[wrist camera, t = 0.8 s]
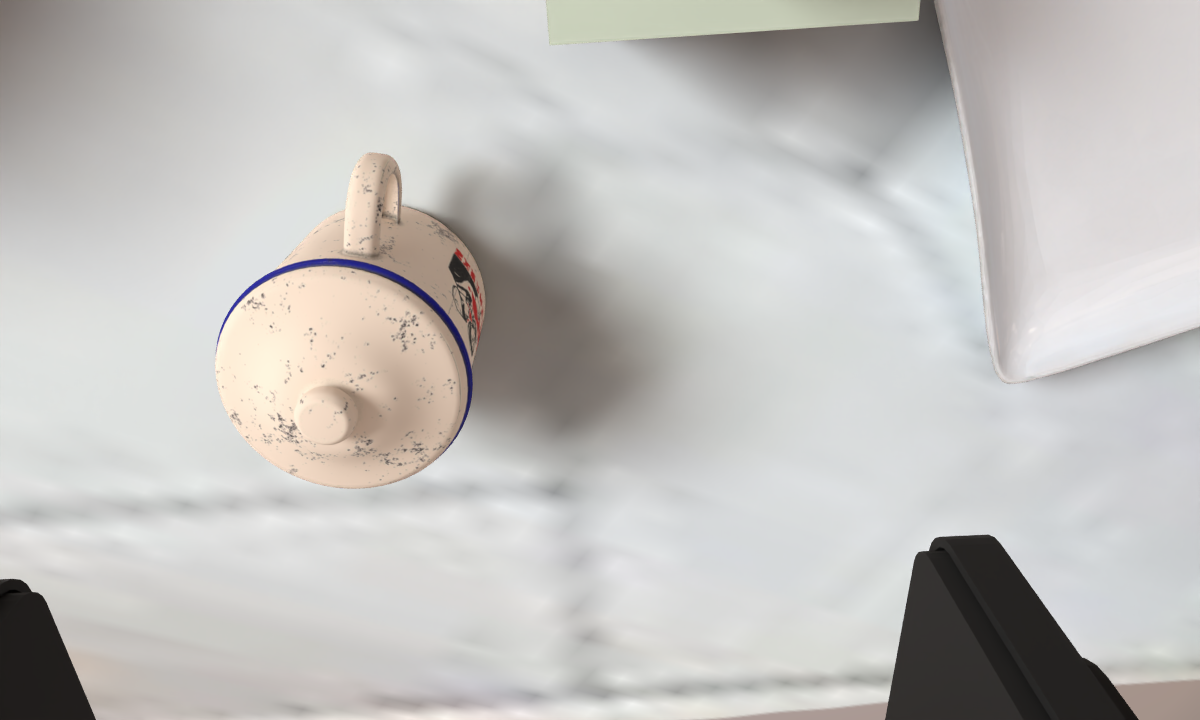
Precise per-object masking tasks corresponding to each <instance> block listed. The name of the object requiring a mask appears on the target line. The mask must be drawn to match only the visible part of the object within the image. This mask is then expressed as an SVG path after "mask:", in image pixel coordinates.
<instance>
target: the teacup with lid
mask: <svg viewBox="0 0 1200 720" xmlns="http://www.w3.org/2000/svg"><path fill="white" fill-rule="evenodd" d="M401 200H402V183H401V174H400V170H399V167H398V164H397V162H396V161H395V160H394V159H393V158H392V157H391V156H389V155H385V154H380V153H367V154H365V155H363V156H362V157H361V158H360V159H359V160H358V162H357V164H356V165H355V168H354V170H353V173H352V176H351V180H350V184H349V189H348V194H347V201H346V209H345V210H343V211H340V212H338V213H336V214H334V215H332V216H330V217H328V218H327V219H325V220H324V221H323V222H321V223H320V224H319V225H318V226H316V227H315V228H314V229H313V230H312V231H311V232H310V233H309V234H308V235H307V237H306V238H305V239H304V240H303V241H302V242H301V243H300V244H299V245H298V246H297V247H296V248H295V249H294V250H293V251H292V252H291V254H290V255H289V256H288V257H287V258H286V259H285V260H284V261H283V262H282V263H281V264H280V265H279V266H278V267H277V268H276V269H275V271H273V272H271V273H269V274H267V275H265V276H264V277H262V278H261V279H259V280H258V281H256V282H255V283H254V284H252V285H251V286H250V287H249V288H248V289H247V290H245V292H244V293H243V294H242V295H241V296H240V297H239V298H238V299H237V300H236V302H235V303H234V305H233V306H232V307H231V309H230V311H229V312H228V314H227V316H226V318H225V320H224V322H223V325H222V327H221V330H220V333H219V337H218V341H217V348H216V364H215V369H216V380H217V385H218V390H219V393H220V396H221V400H222V402H223V405H224V407H225V409H226V412H227V414H228V415H229V417H230V419H231V421H232V423H233V424H234V426H235V427H236V429H237V430H238V432H239V433H240V434H241V435H242V437H243V438H244V439H245V440H246V441H247V442H248V443H249V444H250V445H251V447H252V448H253V449H254V450H256V451H257V452H258V453H259V454H260V455H261V456H263V457H264V458H265V459H267V460H268V461H269V462H271V463H272V464H274V465H275V466H277V467H278V468H280V469H282V470H284V471H286V472H288V473H289V474H291V475H294V476H296V477H298V478H301V479H303V480H306V481H309V482H312V483H316V484H320V485H324V486H330V487H336V488H347V489H360V488H371V487H377V486H383V485H387V484H391V483H394V482H397V481H400V480H403V479H405V478H408V477H410V476H412V475H414V474H416V473H418V472H419V471H421V470H423V469H424V468H426V467H427V466H428V465H430V464H431V463H432V462H434V461H435V460H436V459H437V458H438V457H439V456H441V455H442V454H443V453H444V452H445V451H446V450H447V449H448V447H449V446H450V445H451V444H452V443H453V441H454V440H455V439H456V437H457V436H458V434H459V432H460V430H461V429H462V427H463V425H464V422H465V420H466V418H467V415H468V411H469V408H470V403H471V398H472V386H473V382H472V367H473V363H474V359H475V354H476V350H477V346H478V342H479V338H480V334H481V329H482V325H483V321H484V315H485V290H484V284H483V280H482V276H481V274H480V271H479V268H478V266H477V264H476V262H475V260H474V258H473V256H472V255H471V253H470V251H469V250H468V249H467V247H466V246H465V245H464V243H463V242H462V241H461V240H460V239H459V238H458V237H457V236H456V235H455V234H454V233H453V232H452V231H451V230H450V229H448V228H447V227H446V226H445V225H443V224H442V223H440V222H439V221H437V220H436V219H434V218H432V217H430V216H428V215H426V214H424V213H422V212H419V211H417V210H414V209H411V208H408V207H404V206H401Z"/></svg>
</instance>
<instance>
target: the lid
mask: <svg viewBox="0 0 1200 720" xmlns="http://www.w3.org/2000/svg"><path fill="white" fill-rule="evenodd" d="M546 7H547V20H548V32H549V44H550V45H563V44H577V43H592V42H607V41H622V40H637V39H652V38H667V37H682V36H697V35H712V34H727V33H742V32H756V31H771V30H786V29H801V28H816V27H831V26H846V25H861V24H876V23H891V22H906V21H918V20H919V9H920V0H546Z"/></svg>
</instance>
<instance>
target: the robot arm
mask: <svg viewBox="0 0 1200 720" xmlns="http://www.w3.org/2000/svg"><path fill="white" fill-rule="evenodd" d="M0 720H96V719H95V716H94V714H93V712H92V709H91V707H90V705H89V702H88V700H87V697H86V695H85V693H84V690H83V688H82V686H81V683H80V681H79V679H78V676H77V674H76V671H75V669H74V667H73V664H72V662H71V660H70V657H69V655H68V652H67V650H66V648H65V645H64V643H63V641H62V638H61V636H60V634H59V631H58V629H57V626H56V624H55V622H54V619H53V617H52V615H51V612H50V610H49V608H48V605H47V603H46V601H45V599H44V598H43V596H42V595H40V594H39V593H36V592H32V591H31V590H30V588H29V587H28V585H27V584H26V583H24V582H23V581H21V580H17V579H1V580H0ZM885 720H1138V718H1137V717H1136V715H1135V714H1134V713H1133V711H1132V710H1131V709H1130V707H1129V706H1128V704H1127V703H1126V702H1125V700H1124V699H1123V698H1122V696H1121V695H1120V694H1119V692H1118V691H1117V689H1116V688H1115V687H1114V685H1113V684H1112V683H1111V681H1110V680H1109V678H1108V677H1107V676H1106V675H1105V674H1104V673H1103V672H1102V671H1101V670H1100V668H1099V667H1098V666H1097V665H1095V664H1094V663H1092V662H1090V661H1089V660H1087V659H1085V658H1082V657H1081V656H1080V654H1079V653H1078V652H1077V650H1076V649H1075V647H1074V646H1073V645H1072V643H1071V642H1070V640H1069V639H1068V638H1067V636H1066V635H1065V633H1064V632H1063V631H1062V629H1061V628H1060V626H1059V625H1058V624H1057V622H1056V621H1055V619H1054V618H1053V617H1052V615H1051V614H1050V612H1049V611H1048V610H1047V608H1046V607H1045V605H1044V604H1043V603H1042V601H1041V600H1040V598H1039V597H1038V596H1037V594H1036V593H1035V591H1034V590H1033V589H1032V587H1031V586H1030V584H1029V583H1028V582H1027V580H1026V579H1025V577H1024V576H1023V575H1022V573H1021V572H1020V570H1019V569H1018V568H1017V566H1016V565H1015V563H1014V562H1013V561H1012V559H1011V558H1010V556H1009V555H1008V554H1007V552H1006V551H1005V549H1004V548H1003V547H1002V545H1001V544H1000V543H999V542H998V541H997V539H996V538H995V537H993V536H990V535H972V536H950V537H938V538H935V539H934V540H933V542H932V543H931V546H930V549H929V551H922V552H918V554H917V555H916V557H915V560H914V565H913V570H912V576H911V581H910V587H909V592H908V598H907V603H906V609H905V614H904V620H903V625H902V631H901V636H900V642H899V647H898V653H897V658H896V663H895V669H894V674H893V680H892V685H891V691H890V696H889V702H888V707H887V713H886V718H885Z"/></svg>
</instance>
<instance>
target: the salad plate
mask: <svg viewBox="0 0 1200 720" xmlns="http://www.w3.org/2000/svg"><path fill="white" fill-rule="evenodd" d="M934 4H935V8H936V13H937V17H938V22H939V26H940V31H941V36H942V41H943V46H944V50H945V54H946V58H947V63H948V67H949V72H950V76H951V81H952V86H953V91H954V96H955V102H956V107H957V112H958V118H959V123H960V129H961V134H962V140H963V146H964V153H965V159H966V165H967V171H968V177H969V183H970V189H971V196H972V203H973V210H974V217H975V224H976V231H977V240H978V250H979V259H980V272H981V284H982V295H983V306H984V314H985V324H986V332H987V338H988V344H989V350H990V354H991V358H992V362H993V366H994V370H995V372H996V374H997V375H998V376H999V378H1000V379H1001V380H1002V381H1003V382H1004V383H1008V384H1016V383H1023V382H1027V381H1031V380H1035V379H1039V378H1042V377H1046V376H1050V375H1054V374H1057V373H1060V372H1064V371H1067V370H1070V369H1073V368H1077V367H1080V366H1083V365H1086V364H1089V363H1092V362H1095V361H1098V360H1101V359H1105V358H1108V357H1111V356H1114V355H1117V354H1120V353H1123V352H1126V351H1129V350H1132V349H1135V348H1138V347H1141V346H1144V345H1147V344H1150V343H1153V342H1156V341H1160V340H1163V339H1166V338H1169V337H1172V336H1174V335H1177V334H1180V333H1183V332H1186V331H1190V330H1193V329H1195V328H1198V327H1200V0H934Z"/></svg>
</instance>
